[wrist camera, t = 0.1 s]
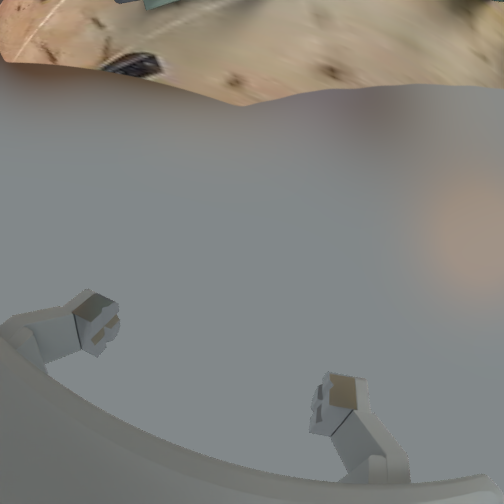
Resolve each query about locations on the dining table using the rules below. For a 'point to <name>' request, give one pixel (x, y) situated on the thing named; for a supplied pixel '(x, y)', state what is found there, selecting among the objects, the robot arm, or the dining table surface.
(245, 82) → the dining table surface
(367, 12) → the dining table surface
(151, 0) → the stool seat
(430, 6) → the dining table surface
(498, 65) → the dining table surface
